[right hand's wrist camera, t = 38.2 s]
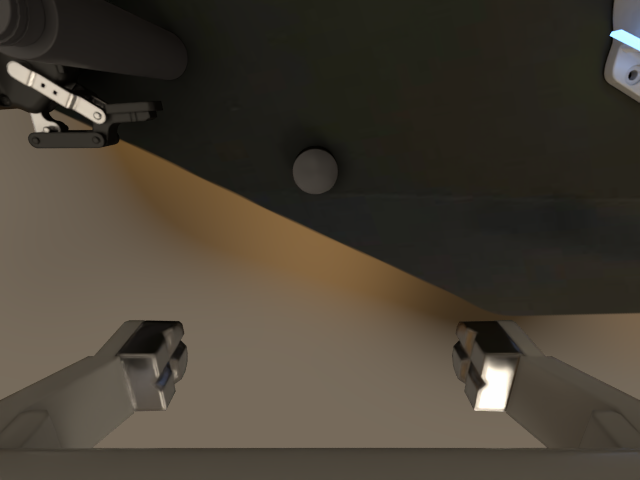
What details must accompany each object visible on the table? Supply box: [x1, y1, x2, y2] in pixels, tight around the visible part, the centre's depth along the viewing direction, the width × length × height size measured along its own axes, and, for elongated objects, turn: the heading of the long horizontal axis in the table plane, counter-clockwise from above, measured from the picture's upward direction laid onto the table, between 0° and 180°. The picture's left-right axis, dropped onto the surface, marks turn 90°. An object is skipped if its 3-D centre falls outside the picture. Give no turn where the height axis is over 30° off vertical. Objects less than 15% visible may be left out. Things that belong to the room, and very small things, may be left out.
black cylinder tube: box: [0, 0, 188, 80], centre depth 23 cm, size 4×4×20 cm
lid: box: [293, 146, 338, 194], centre depth 35 cm, size 4×4×2 cm
